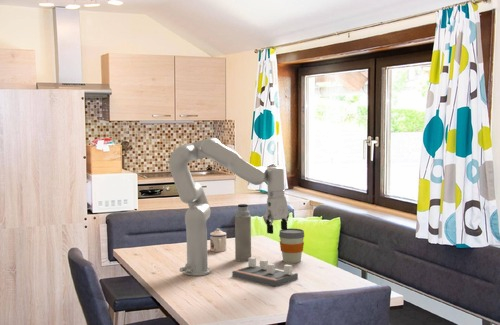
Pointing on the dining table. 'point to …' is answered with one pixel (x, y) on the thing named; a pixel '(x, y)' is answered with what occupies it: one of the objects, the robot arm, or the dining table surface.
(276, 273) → the grey slider switch panel
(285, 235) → the reusable coffee cup
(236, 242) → the thermos bottle
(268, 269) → the block
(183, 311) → the dining table surface
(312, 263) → the dining table surface
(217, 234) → the teacup with lid
